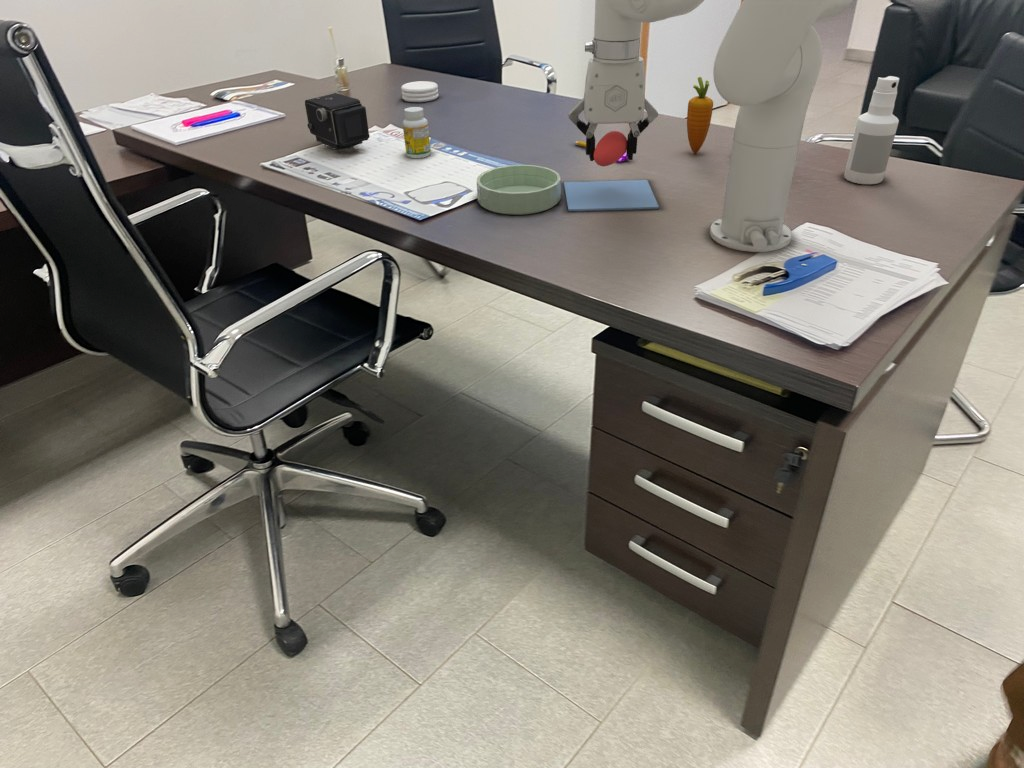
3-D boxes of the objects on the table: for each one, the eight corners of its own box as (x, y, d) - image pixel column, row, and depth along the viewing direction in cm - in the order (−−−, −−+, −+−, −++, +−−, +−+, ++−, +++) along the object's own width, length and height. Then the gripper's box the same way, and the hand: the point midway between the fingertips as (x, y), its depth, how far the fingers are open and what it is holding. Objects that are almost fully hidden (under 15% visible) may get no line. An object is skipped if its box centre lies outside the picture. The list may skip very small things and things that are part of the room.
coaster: (445, 96, 199) (444, 82, 197) (423, 104, 192) (422, 90, 190) (417, 92, 203) (416, 79, 201) (394, 100, 196) (393, 87, 194)
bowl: (562, 214, 126) (562, 192, 124) (476, 216, 127) (474, 194, 124) (558, 184, 139) (558, 163, 136) (479, 186, 139) (478, 165, 137)
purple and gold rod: (631, 159, 149) (578, 143, 159) (630, 153, 148) (577, 138, 158) (622, 165, 148) (569, 148, 158) (621, 159, 147) (568, 143, 157)
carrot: (707, 157, 149) (716, 81, 140) (682, 157, 150) (690, 80, 141) (706, 150, 153) (716, 75, 144) (683, 149, 154) (690, 75, 145)
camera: (307, 152, 164) (341, 160, 154) (294, 100, 158) (328, 104, 148) (346, 142, 169) (382, 148, 159) (335, 90, 164) (371, 94, 154)
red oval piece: (638, 164, 130) (633, 129, 129) (616, 160, 123) (611, 123, 122) (613, 171, 133) (608, 137, 132) (590, 168, 126) (584, 131, 125)
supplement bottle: (433, 156, 155) (428, 110, 149) (408, 159, 154) (403, 113, 148) (428, 149, 159) (423, 104, 154) (404, 152, 158) (399, 107, 152)
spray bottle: (859, 187, 132) (885, 84, 122) (836, 175, 138) (859, 75, 127) (890, 182, 134) (919, 80, 123) (866, 171, 139) (892, 72, 129)
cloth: (658, 208, 127) (659, 206, 127) (568, 211, 127) (568, 209, 127) (646, 181, 138) (647, 179, 138) (563, 184, 139) (563, 182, 138)
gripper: (565, 55, 115) (563, 166, 126) (673, 52, 115) (662, 164, 126) (562, 46, 122) (561, 152, 132) (665, 43, 121) (655, 150, 132)
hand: (610, 157), depth 129 cm, fingers closed on red oval piece, 6 cm apart
